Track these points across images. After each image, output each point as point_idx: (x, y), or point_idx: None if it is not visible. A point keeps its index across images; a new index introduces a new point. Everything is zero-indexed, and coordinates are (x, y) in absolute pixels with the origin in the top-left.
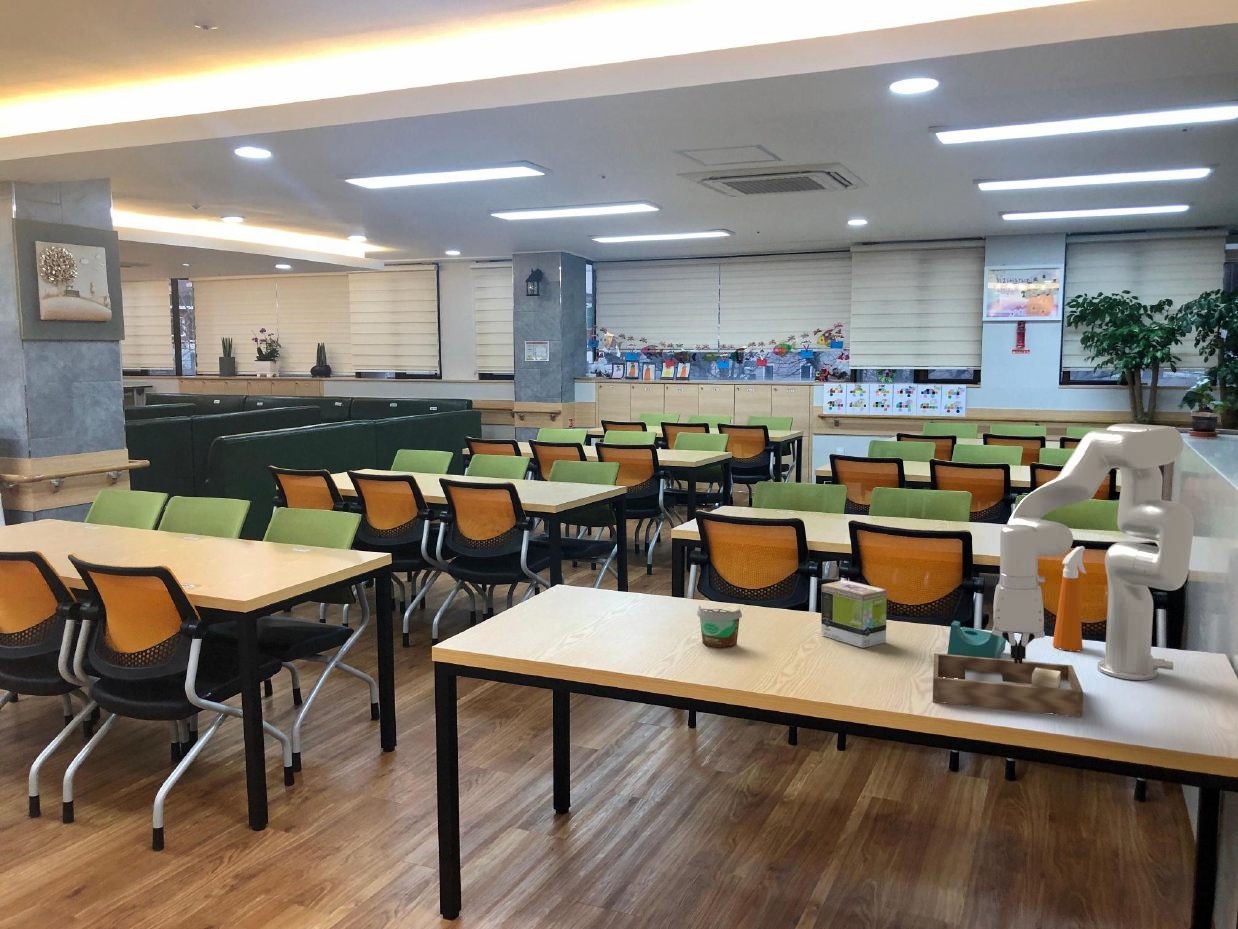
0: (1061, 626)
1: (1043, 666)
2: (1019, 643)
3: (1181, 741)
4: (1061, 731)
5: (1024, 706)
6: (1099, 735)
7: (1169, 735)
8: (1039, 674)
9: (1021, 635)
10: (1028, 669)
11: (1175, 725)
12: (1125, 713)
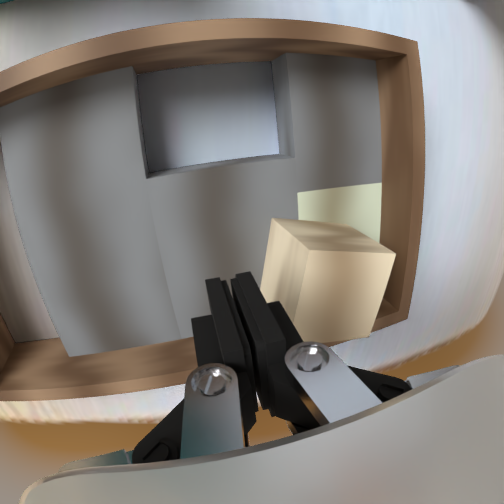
0: None
1: (321, 44)
2: (271, 389)
3: (467, 303)
4: None
5: None
6: (372, 356)
7: (464, 288)
8: (316, 334)
9: (309, 407)
10: (252, 46)
11: (484, 236)
12: (445, 209)
